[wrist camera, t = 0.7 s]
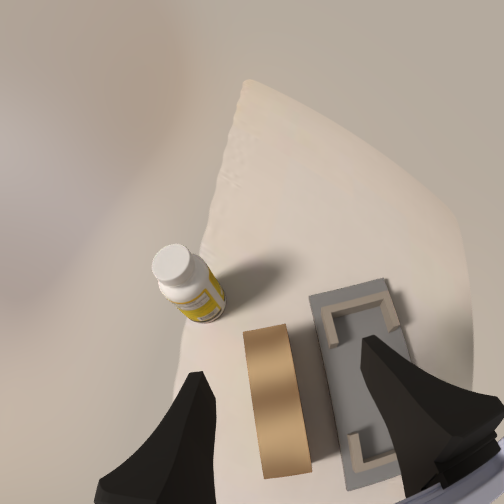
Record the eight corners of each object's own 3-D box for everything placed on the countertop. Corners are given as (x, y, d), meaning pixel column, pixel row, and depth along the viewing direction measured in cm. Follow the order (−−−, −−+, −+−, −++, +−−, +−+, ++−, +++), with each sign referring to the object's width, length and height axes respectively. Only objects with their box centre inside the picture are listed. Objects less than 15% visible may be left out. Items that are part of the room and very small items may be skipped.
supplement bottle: (195, 279, 35) (162, 232, 27) (233, 289, 33) (208, 242, 25) (177, 317, 33) (135, 278, 25) (216, 330, 31) (182, 294, 23)
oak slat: (311, 462, 21) (312, 472, 17) (271, 469, 21) (264, 479, 17) (288, 338, 29) (285, 323, 25) (252, 345, 29) (242, 332, 25)
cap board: (428, 460, 18) (439, 463, 15) (346, 489, 18) (350, 496, 16) (381, 280, 30) (387, 268, 28) (308, 298, 31) (308, 288, 29)
